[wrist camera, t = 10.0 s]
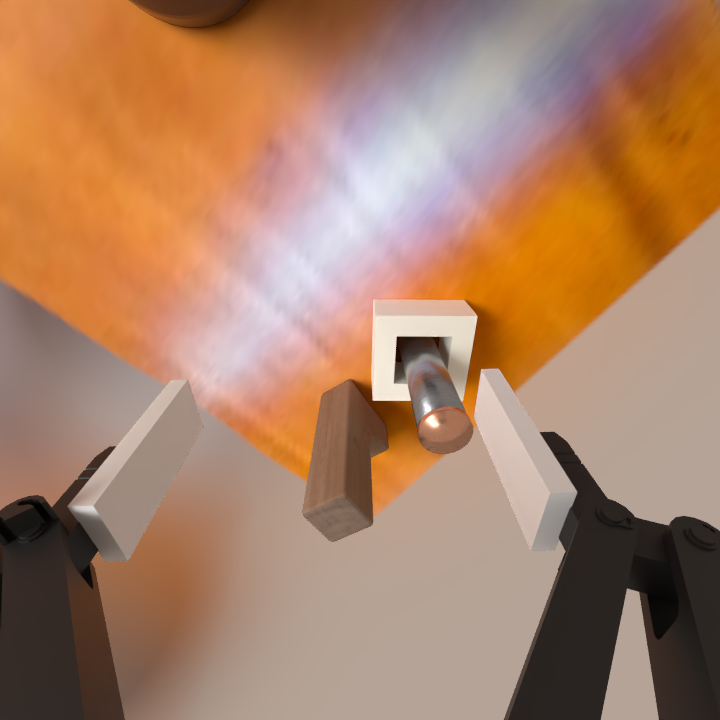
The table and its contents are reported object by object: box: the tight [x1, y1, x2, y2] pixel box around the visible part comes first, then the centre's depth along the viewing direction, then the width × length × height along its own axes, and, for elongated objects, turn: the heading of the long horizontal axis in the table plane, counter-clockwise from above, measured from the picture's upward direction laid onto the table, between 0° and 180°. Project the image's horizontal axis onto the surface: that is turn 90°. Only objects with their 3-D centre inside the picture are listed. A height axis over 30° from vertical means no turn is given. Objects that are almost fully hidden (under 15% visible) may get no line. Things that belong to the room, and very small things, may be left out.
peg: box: [398, 336, 473, 454], centre depth 34 cm, size 4×4×17 cm
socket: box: [371, 299, 478, 401], centre depth 40 cm, size 10×10×5 cm
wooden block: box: [302, 380, 389, 542], centre depth 38 cm, size 9×4×18 cm, turn 33°
